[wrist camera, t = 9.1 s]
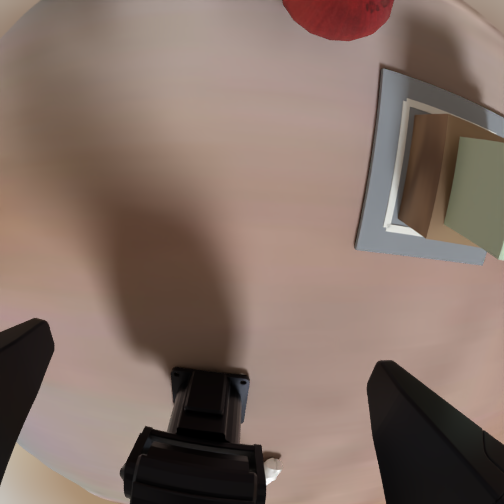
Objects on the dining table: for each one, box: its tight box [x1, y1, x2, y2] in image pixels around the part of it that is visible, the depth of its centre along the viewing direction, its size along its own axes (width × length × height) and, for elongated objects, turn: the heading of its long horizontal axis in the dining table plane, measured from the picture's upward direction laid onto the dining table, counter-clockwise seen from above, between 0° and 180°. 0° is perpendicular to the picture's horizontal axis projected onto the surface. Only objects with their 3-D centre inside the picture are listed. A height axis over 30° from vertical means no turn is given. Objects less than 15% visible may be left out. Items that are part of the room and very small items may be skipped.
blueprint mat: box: [354, 68, 504, 265], centre depth 18 cm, size 12×12×1 cm
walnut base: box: [398, 114, 504, 248], centre depth 16 cm, size 7×7×4 cm
